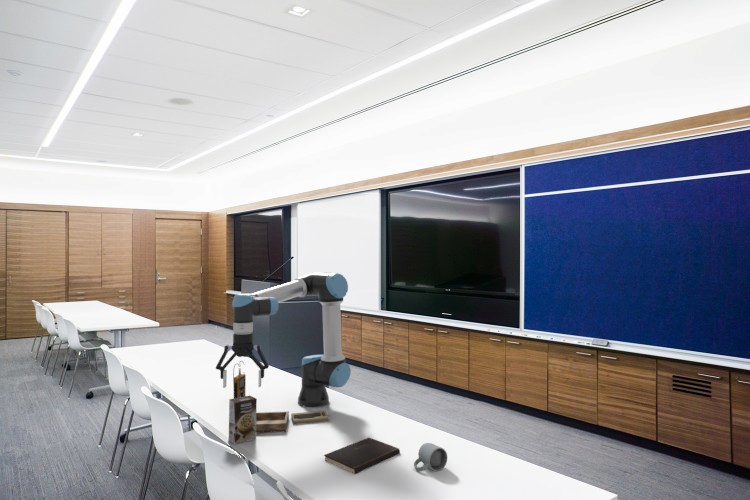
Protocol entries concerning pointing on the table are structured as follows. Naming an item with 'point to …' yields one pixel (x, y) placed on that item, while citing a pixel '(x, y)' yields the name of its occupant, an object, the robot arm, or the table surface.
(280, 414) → the tray
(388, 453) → the hardcover book
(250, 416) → the coffee box
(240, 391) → the multimeter
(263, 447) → the table surface
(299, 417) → the computer
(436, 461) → the ceramic mug
